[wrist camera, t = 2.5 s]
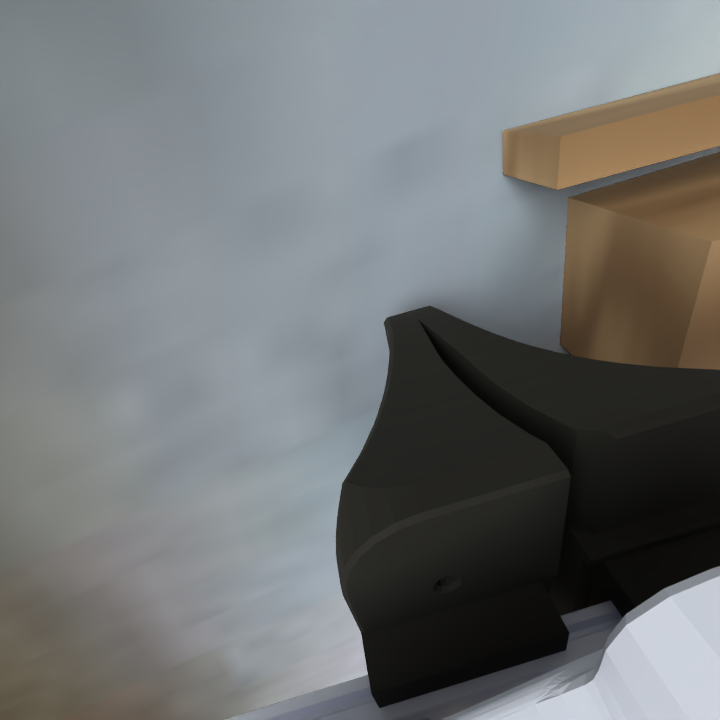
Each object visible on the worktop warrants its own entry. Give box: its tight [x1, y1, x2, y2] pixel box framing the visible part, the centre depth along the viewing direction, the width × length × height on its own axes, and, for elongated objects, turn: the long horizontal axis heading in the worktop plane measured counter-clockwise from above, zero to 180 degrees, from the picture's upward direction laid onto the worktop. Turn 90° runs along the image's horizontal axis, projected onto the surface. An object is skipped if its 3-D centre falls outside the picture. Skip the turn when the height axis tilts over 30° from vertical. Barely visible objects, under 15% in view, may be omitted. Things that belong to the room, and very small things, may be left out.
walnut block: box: [560, 152, 720, 370], centre depth 11 cm, size 5×6×4 cm
